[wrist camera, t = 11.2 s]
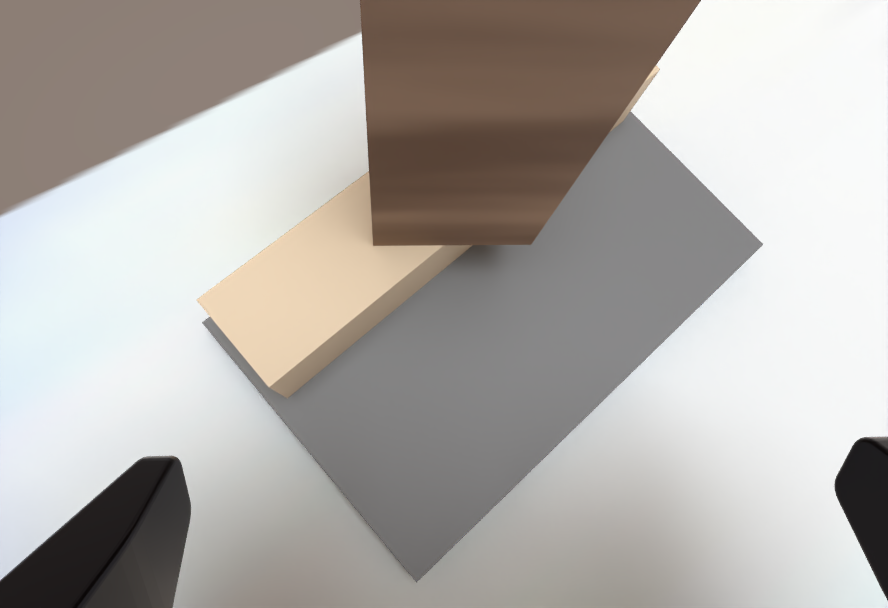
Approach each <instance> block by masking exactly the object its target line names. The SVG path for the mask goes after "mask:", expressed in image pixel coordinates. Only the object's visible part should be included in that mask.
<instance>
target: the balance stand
mask: <svg viewBox="0 0 888 608" xmlns="http://www.w3.org/2000/svg"><path fill="white" fill-rule="evenodd" d="M659 70H660V69H659V68H658V67H657V66H655V67H654V69H653V70H652V72H651V73H650V74H649V76H648V77H647V79H646V80H645V82H644V83H643V84H642V86H641V87H640V89H639V90H638V92H637V93H636V95H635V96H634V97H633V99H632V100H631V102H630V103H629V105H628V106H627V107H626V109H625V110H624V112H623V113H622V115H621V116H620V118H619V119H618V120H617V122H616V123H615V125H614V126H613V128H612V129H611V131H610V132H609V133H608V135H607V136H606V138H605V139H604V141H603V142H602V143H601V145H600V146H599V148H598V149H597V151H596V152H595V154H594V155H593V156H592V158H591V159H590V161H589V162H588V164H587V165H586V167H585V168H584V169H583V171H582V172H581V174H580V175H579V177H578V178H577V179H576V181H575V182H574V184H573V185H572V187H571V188H570V190H569V191H568V192H567V194H566V195H565V197H564V198H563V200H562V201H561V203H560V204H559V205H558V207H557V208H556V210H555V211H554V213H553V214H552V215H551V217H550V218H549V220H548V221H547V223H546V224H545V226H544V227H543V228H542V230H541V231H540V233H539V234H538V236H537V237H536V238H535V240H534V241H533V243H532V244H531V245H431V246H373V235H372V216H371V197H370V178H369V171H368V172H367V173H366V174H364V175H363V176H362V177H360V178H359V179H358V180H356V181H355V182H354V183H352V184H351V185H350V186H348V187H347V188H346V189H344V190H343V191H342V192H340V193H339V194H338V195H336V196H335V197H334V198H332V199H331V200H330V201H328V202H327V203H325V204H324V205H323V206H321V207H320V208H319V209H317V210H316V211H315V212H313V213H312V214H311V215H309V216H308V217H307V218H305V219H304V220H303V221H301V222H300V223H299V224H297V225H296V226H295V227H293V228H292V229H291V230H289V231H288V232H287V233H285V234H284V235H283V236H281V237H280V238H279V239H277V240H276V241H275V242H273V243H272V244H271V245H269V246H268V247H266V248H265V249H264V250H262V251H261V252H260V253H258V254H257V255H256V256H254V257H253V258H252V259H250V260H249V261H248V262H246V263H245V264H244V265H242V266H241V267H240V268H238V269H237V270H236V271H234V272H233V273H232V274H230V275H229V276H228V277H226V278H225V279H224V280H222V281H221V282H220V283H218V284H217V285H216V286H214V287H213V288H212V289H210V290H209V291H208V292H206V293H205V294H203V295H202V296H201V297H199V298H198V299H197V301H198V303H199V304H200V305H201V306H202V307H203V309H204V310H205V311H206V312H207V313H208V315H209V316H210V317H209V318H207V319H206V320H205V321H204V322H202V323H203V324H204V326H205V327H206V328H207V329H208V330H209V332H210V333H211V334H212V335H213V336H214V338H215V339H216V340H217V341H218V342H219V344H220V345H221V346H222V347H223V349H224V350H225V351H226V352H227V353H228V355H229V356H230V357H231V358H232V359H233V361H234V362H235V363H236V364H237V365H238V367H239V368H240V369H241V370H242V372H243V373H244V374H245V375H246V376H247V378H248V379H249V380H250V381H251V382H252V384H253V385H254V386H255V387H256V389H257V390H258V391H259V392H260V393H261V395H262V396H263V397H264V398H265V399H266V401H267V402H268V403H269V404H270V405H271V407H272V408H273V409H274V410H275V412H276V413H277V414H278V415H279V416H280V418H281V419H282V420H283V421H284V422H285V424H286V425H287V426H288V427H289V429H290V430H291V431H292V432H293V433H294V435H295V436H296V437H297V438H298V439H299V441H300V442H301V443H302V444H303V445H304V447H305V448H306V449H307V450H308V452H309V453H310V454H311V455H312V456H313V458H314V459H315V460H316V461H317V462H318V464H319V465H320V466H321V467H322V468H323V470H324V471H325V472H326V473H327V475H328V476H329V477H330V478H331V479H332V481H333V482H334V483H335V484H336V485H337V487H338V488H339V489H340V490H341V492H342V493H343V494H344V495H345V496H346V498H347V499H348V500H349V501H350V502H351V504H352V505H353V506H354V507H355V508H356V510H357V511H358V512H359V513H360V515H361V516H362V517H363V518H364V519H365V521H366V522H367V523H368V524H369V525H370V527H371V528H372V529H373V530H374V532H375V533H376V534H377V535H378V536H379V538H380V539H381V540H382V541H383V542H384V544H385V545H386V546H387V547H388V548H389V550H390V551H391V552H392V553H393V555H394V556H395V557H396V558H397V559H398V561H399V562H400V563H401V564H402V565H403V567H404V568H405V569H406V570H407V571H408V573H409V574H410V575H411V576H412V578H413V579H414V580H415V581H416V582H417V581H418V580H419V579H420V578H421V577H422V576H424V575H425V574H426V573H427V572H428V571H429V570H430V569H431V568H432V567H433V566H434V565H435V564H436V563H437V562H438V561H439V560H440V559H441V558H442V557H443V556H444V555H445V554H446V553H447V552H448V551H449V550H450V549H451V548H452V547H453V546H454V545H455V544H456V543H457V542H458V541H459V540H460V539H461V538H462V537H464V536H465V535H466V534H467V533H468V532H469V531H470V530H471V529H472V528H473V527H474V526H475V525H476V524H477V523H478V522H479V521H480V520H481V519H482V518H483V517H484V516H485V515H486V514H487V513H488V512H489V511H490V510H491V509H492V508H493V507H494V506H495V505H496V504H497V503H498V502H499V501H500V500H501V499H503V498H504V497H505V496H506V495H507V494H508V493H509V492H510V491H511V490H512V489H513V488H514V487H515V486H516V485H517V484H518V483H519V482H520V481H521V480H522V479H523V478H524V477H525V476H526V475H527V474H528V473H529V472H530V471H531V470H532V469H533V468H534V467H535V466H536V465H537V464H538V463H539V462H540V461H541V460H543V459H544V458H545V457H546V456H547V455H548V454H549V453H550V452H551V451H552V450H553V449H554V448H555V447H556V446H557V445H558V444H559V443H560V442H561V441H562V440H563V439H564V438H565V437H566V436H567V435H568V434H569V433H570V432H571V431H572V430H573V429H574V428H575V427H576V426H577V425H578V424H579V423H580V422H582V421H583V420H584V419H585V418H586V417H587V416H588V415H589V414H590V413H591V412H592V411H593V410H594V409H595V408H596V407H597V406H598V405H599V404H600V403H601V402H602V401H603V400H604V399H605V398H606V397H607V396H608V395H609V394H610V393H611V392H612V391H613V390H614V389H615V388H616V387H617V386H618V385H619V384H621V383H622V382H623V381H624V380H625V379H626V378H627V377H628V376H629V375H630V374H631V373H632V372H633V371H634V370H635V369H636V368H637V367H638V366H639V365H640V364H641V363H642V362H643V361H644V360H645V359H646V358H647V357H648V356H649V355H650V354H651V353H652V352H653V351H654V350H655V349H656V348H657V347H658V346H659V345H661V344H662V343H663V342H664V341H665V340H666V339H667V338H668V337H669V336H670V335H671V334H672V333H673V332H674V331H675V330H676V329H677V328H678V327H679V326H680V325H681V324H682V323H683V322H684V321H685V320H686V319H687V318H688V317H689V316H690V315H691V314H692V313H693V312H694V311H695V310H696V309H697V308H698V307H700V306H701V305H702V304H703V303H704V302H705V301H706V300H707V299H708V298H709V297H710V296H711V295H712V294H713V293H714V292H715V291H716V290H717V289H718V288H719V287H720V286H721V285H722V284H723V283H724V282H725V281H726V280H727V279H728V278H729V277H730V276H731V275H732V274H733V273H734V272H735V271H736V270H737V269H739V268H740V267H741V266H742V265H743V264H744V263H745V262H746V261H747V260H748V259H749V258H750V257H751V256H752V255H753V254H754V253H755V252H756V251H757V250H758V249H759V248H760V247H761V246H762V245H763V244H762V243H761V242H760V241H759V240H758V239H757V238H756V237H755V236H754V235H753V234H752V233H751V232H750V231H749V230H748V229H747V228H746V227H745V226H744V225H743V224H742V223H741V222H740V221H739V220H738V219H737V218H736V217H735V216H734V215H733V214H732V213H731V212H730V211H729V210H728V209H727V208H726V207H725V206H724V205H723V204H722V203H721V202H720V201H719V200H718V199H717V198H716V197H715V196H714V195H713V194H712V193H711V192H710V191H709V190H708V189H707V188H706V187H705V186H704V185H703V184H702V183H701V182H700V181H699V180H698V179H697V178H696V177H695V176H694V175H693V174H692V173H691V172H690V171H689V170H688V169H687V168H686V167H685V166H684V165H683V164H682V163H681V162H680V161H679V160H678V159H677V158H676V157H675V156H674V155H673V154H672V153H671V152H670V151H669V150H668V149H667V148H666V147H665V146H664V145H663V144H662V143H661V142H660V141H659V140H658V139H657V138H656V137H655V136H654V135H653V134H652V133H651V132H650V131H649V130H648V129H647V128H646V127H645V126H644V125H643V124H642V123H641V122H640V121H639V120H638V118H637V117H636V116H635V115H634V114H633V113H632V112H631V109H632V108H633V106H634V105H635V104H636V102H637V101H638V99H639V98H640V97H641V95H642V94H643V92H644V91H645V90H646V88H647V87H648V85H649V84H650V83H651V81H652V80H653V78H654V77H655V76H656V74H657V73H658V71H659Z"/></svg>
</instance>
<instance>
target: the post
mask: <svg viewBox="0 0 888 608" xmlns="http://www.w3.org/2000/svg"><path fill="white" fill-rule="evenodd" d="M700 1H701V0H360V7H361V27H362V46H363V65H364V84H365V102H366V121H367V140H368V159H369V178H370V197H371V216H372V235H373V246H431V245H531V244H532V243H533V241H534V240H535V238H536V237H537V236H538V234H539V233H540V231H541V230H542V228H543V227H544V226H545V224H546V223H547V221H548V220H549V218H550V217H551V215H552V214H553V213H554V211H555V210H556V208H557V207H558V205H559V204H560V203H561V201H562V200H563V198H564V197H565V195H566V194H567V192H568V191H569V190H570V188H571V187H572V185H573V184H574V182H575V181H576V179H577V178H578V177H579V175H580V174H581V172H582V171H583V169H584V168H585V167H586V165H587V164H588V162H589V161H590V159H591V158H592V156H593V155H594V154H595V152H596V151H597V149H598V148H599V146H600V145H601V143H602V142H603V141H604V139H605V138H606V136H607V135H608V133H609V132H610V131H611V129H612V128H613V126H614V125H615V123H616V122H617V120H618V119H619V118H620V116H621V115H622V113H623V112H624V110H625V109H626V107H627V106H628V105H629V103H630V102H631V100H632V99H633V97H634V96H635V95H636V93H637V92H638V90H639V89H640V87H641V86H642V84H643V83H644V82H645V80H646V79H647V77H648V76H649V74H650V73H651V72H652V70H653V69H654V67H655V66H656V64H657V63H658V61H659V60H660V59H661V57H662V56H663V54H664V53H665V51H666V50H667V48H668V47H669V46H670V44H671V43H672V41H673V40H674V38H675V37H676V36H677V34H678V33H679V31H680V30H681V28H682V27H683V25H684V24H685V23H686V21H687V20H688V18H689V17H690V15H691V14H692V12H693V11H694V10H695V8H696V7H697V5H698V4H699V2H700Z"/></svg>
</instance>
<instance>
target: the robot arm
mask: <svg viewBox="0 0 888 608" xmlns="http://www.w3.org/2000/svg"><path fill="white" fill-rule="evenodd" d="M835 492H836V496H837V498H838V501H839V503H840V505H841V507H842V509H843V511H844V513H845V515H846V517H847V519H848V521H849V523H850V525H851V527H852V529H853V531H854V533H855V535H856V538H857V540H858V542H859V544H860V546H861V548H862V550H863V552H864V554H865V556H866V558H867V560H868V562H869V564H870V566H871V568H872V570H873V572H874V574H875V576H876V579H877V581H878V583H879V585H880V587H881V589H882V591H883V593H884V594H885V596H886V598H887V600H888V437H864V438H860V439H859V440H857V441H856V442H855V443H854V445H853V446H852V448H851V450H850V452H849V454H848V456H847V458H846V459H845V461H844V463H843V465H842V467H841V469H840V471H839V473H838V474H837V476H836V479H835ZM190 516H191V503H190V498H189V494H188V489H187V485H186V481H185V477H184V473H183V469H182V465H181V462H180V460H179V459H178V458H177V457H175V456H148V457H143V458H141V459H140V460H138V461H137V462H135V463H134V464H133V465H132V466H131V467H130V468H129V469H127V470H126V471H125V472H124V473H123V474H122V475H120V476H119V477H118V478H117V479H116V480H115V481H114V482H112V483H111V484H110V485H109V486H108V487H107V488H106V489H104V490H103V491H102V492H101V493H100V494H99V495H98V496H96V497H95V498H94V499H93V500H92V501H91V502H90V503H88V504H87V505H86V506H85V507H84V508H83V509H82V510H80V511H79V512H78V513H77V514H76V515H75V516H73V517H72V518H71V519H70V520H69V521H68V522H67V523H65V524H64V525H63V526H62V527H61V528H60V529H59V530H57V531H56V532H55V533H54V534H53V535H52V536H51V537H49V538H48V539H47V540H46V541H45V542H44V543H43V544H41V545H40V546H39V547H38V548H37V549H36V550H35V551H33V552H32V553H31V554H30V555H29V556H28V557H26V558H25V559H24V560H23V561H22V562H21V563H20V564H18V565H17V566H16V567H15V568H14V569H13V570H12V571H10V572H9V573H8V574H7V575H6V576H5V577H4V578H2V579H1V580H0V608H172V607H173V602H174V597H175V592H176V587H177V582H178V577H179V572H180V567H181V562H182V557H183V553H184V548H185V543H186V538H187V533H188V528H189V523H190Z"/></svg>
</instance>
